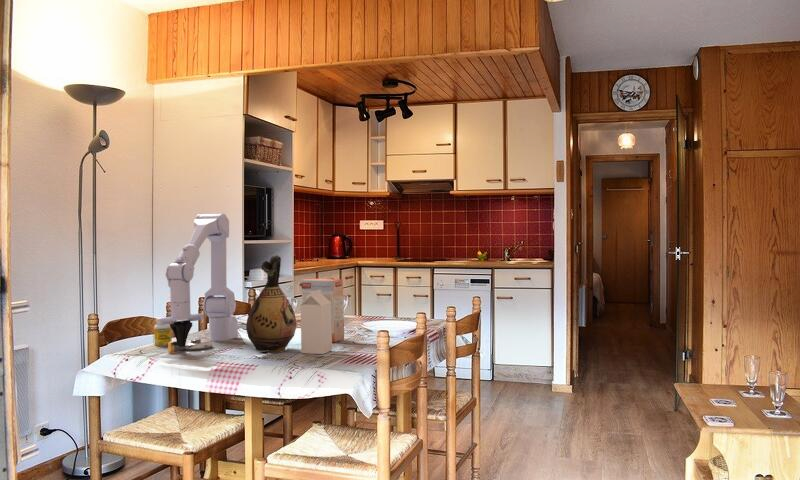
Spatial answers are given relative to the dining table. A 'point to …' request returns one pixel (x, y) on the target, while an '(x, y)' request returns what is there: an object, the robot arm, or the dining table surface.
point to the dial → (190, 345)
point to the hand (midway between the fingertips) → (181, 346)
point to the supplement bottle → (162, 334)
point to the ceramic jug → (271, 314)
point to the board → (199, 352)
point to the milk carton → (316, 324)
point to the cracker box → (334, 294)
